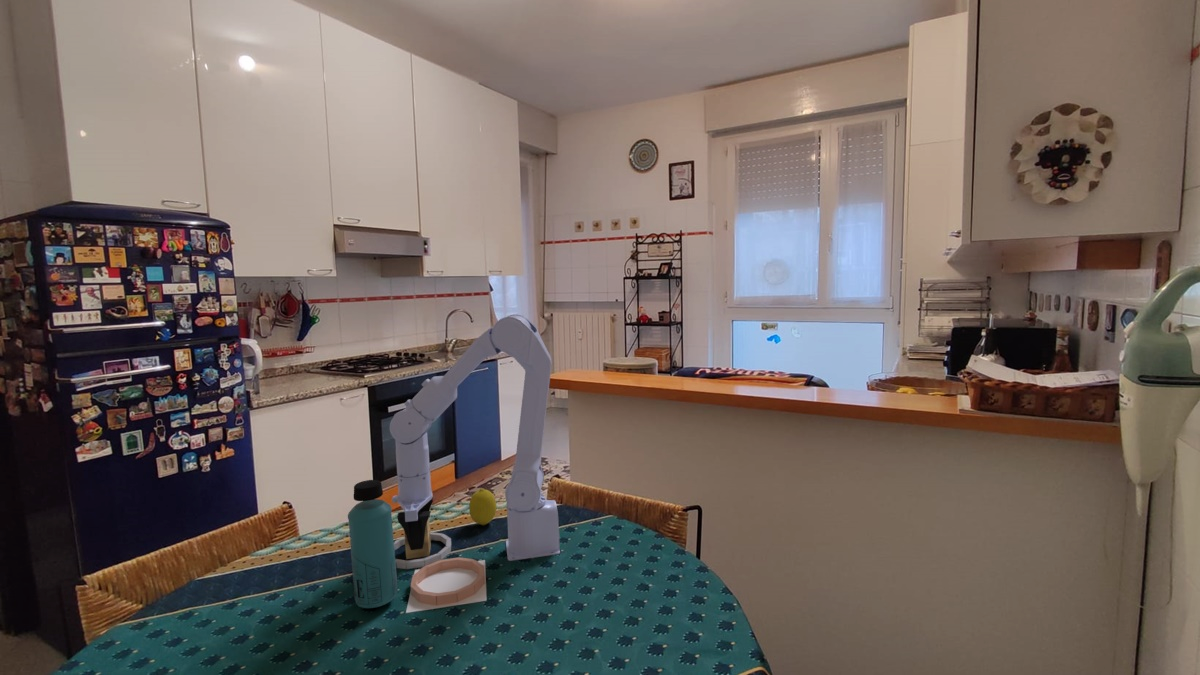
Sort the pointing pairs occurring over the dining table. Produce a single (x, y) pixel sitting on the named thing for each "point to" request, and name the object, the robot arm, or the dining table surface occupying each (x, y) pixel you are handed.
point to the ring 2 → (452, 595)
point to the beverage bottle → (372, 547)
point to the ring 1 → (428, 560)
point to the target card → (448, 587)
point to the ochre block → (419, 552)
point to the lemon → (482, 506)
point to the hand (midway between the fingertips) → (418, 542)
